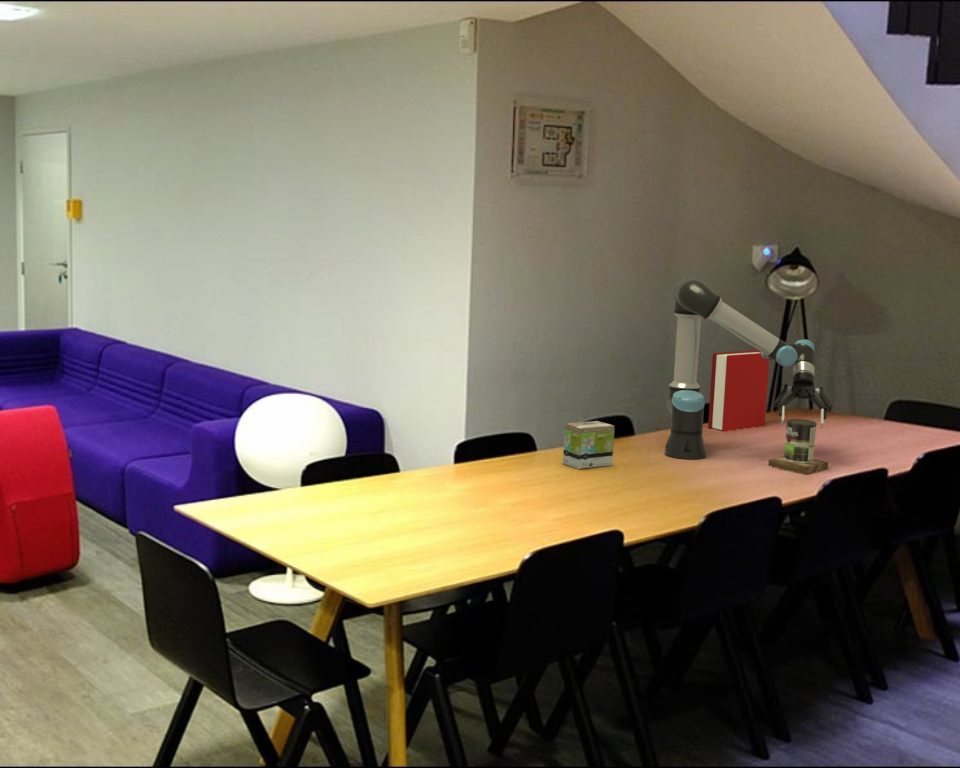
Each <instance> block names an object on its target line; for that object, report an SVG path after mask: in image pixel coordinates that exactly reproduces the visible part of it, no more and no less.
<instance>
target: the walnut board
mask: <svg viewBox="0 0 960 768" xmlns="http://www.w3.org/2000/svg"><path fill="white" fill-rule="evenodd" d="M768 465H769V466H772V467H771V468H773V467H777V468H781V469H780V470H782V469H785V470H784V471H786V470H789V471H788V472H791V471H794V472H793V473H796V472H799V473H798V474H800V473H803V474H802V475H805V474H806V475H809V473H810V474H813V473H812V472H814V473H817V472H816V471H818V472H821V471H825V470H828V469H829V461H825V460H822V459H821V460H820V459H817V458H813V462H812V463H806V464H805V463H793V462H789V461H786V460H784V455H783V456H779V457H774V458H771V459H768ZM768 465H767V466H768ZM777 468H776V469H777Z"/></svg>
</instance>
